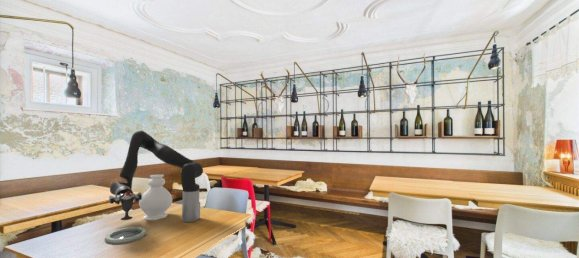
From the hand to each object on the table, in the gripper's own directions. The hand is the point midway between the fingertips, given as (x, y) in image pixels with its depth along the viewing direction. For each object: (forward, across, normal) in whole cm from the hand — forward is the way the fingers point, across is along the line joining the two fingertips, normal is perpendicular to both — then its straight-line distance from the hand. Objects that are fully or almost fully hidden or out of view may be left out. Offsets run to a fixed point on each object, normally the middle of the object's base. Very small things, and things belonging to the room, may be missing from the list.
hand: (127, 201), depth 119 cm
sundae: (-2, 0, +9) cm, 9 cm away
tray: (-2, 0, +18) cm, 18 cm away
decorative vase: (-26, +17, +18) cm, 36 cm away
